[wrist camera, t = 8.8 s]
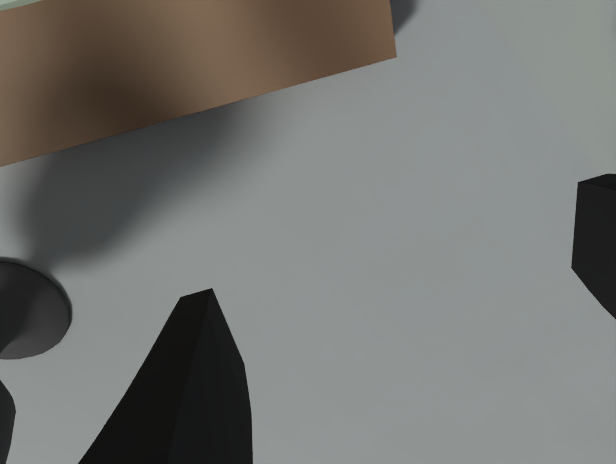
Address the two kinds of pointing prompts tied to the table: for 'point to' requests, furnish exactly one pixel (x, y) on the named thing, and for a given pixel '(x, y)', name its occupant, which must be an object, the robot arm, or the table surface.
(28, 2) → the block
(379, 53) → the board
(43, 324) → the sundae
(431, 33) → the table surface
